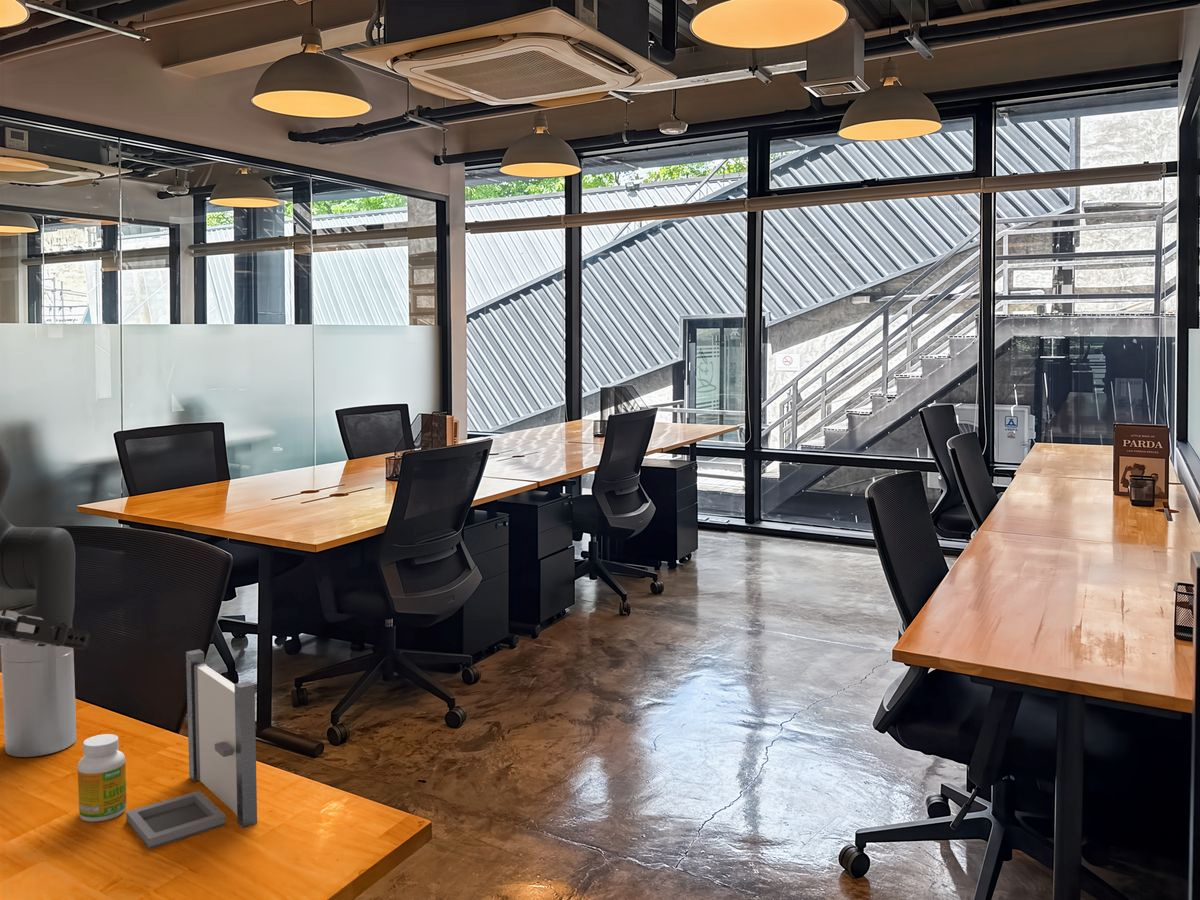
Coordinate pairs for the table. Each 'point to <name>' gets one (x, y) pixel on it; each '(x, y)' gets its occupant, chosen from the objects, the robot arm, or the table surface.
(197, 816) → the shallow tray
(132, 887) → the table surface
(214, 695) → the door
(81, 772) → the supplement bottle
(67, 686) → the robot arm
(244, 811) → the door frame
